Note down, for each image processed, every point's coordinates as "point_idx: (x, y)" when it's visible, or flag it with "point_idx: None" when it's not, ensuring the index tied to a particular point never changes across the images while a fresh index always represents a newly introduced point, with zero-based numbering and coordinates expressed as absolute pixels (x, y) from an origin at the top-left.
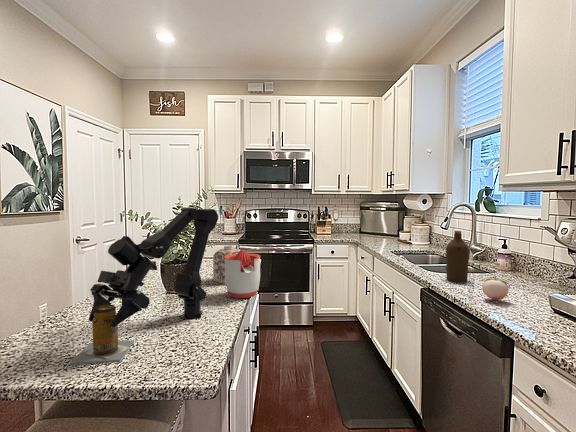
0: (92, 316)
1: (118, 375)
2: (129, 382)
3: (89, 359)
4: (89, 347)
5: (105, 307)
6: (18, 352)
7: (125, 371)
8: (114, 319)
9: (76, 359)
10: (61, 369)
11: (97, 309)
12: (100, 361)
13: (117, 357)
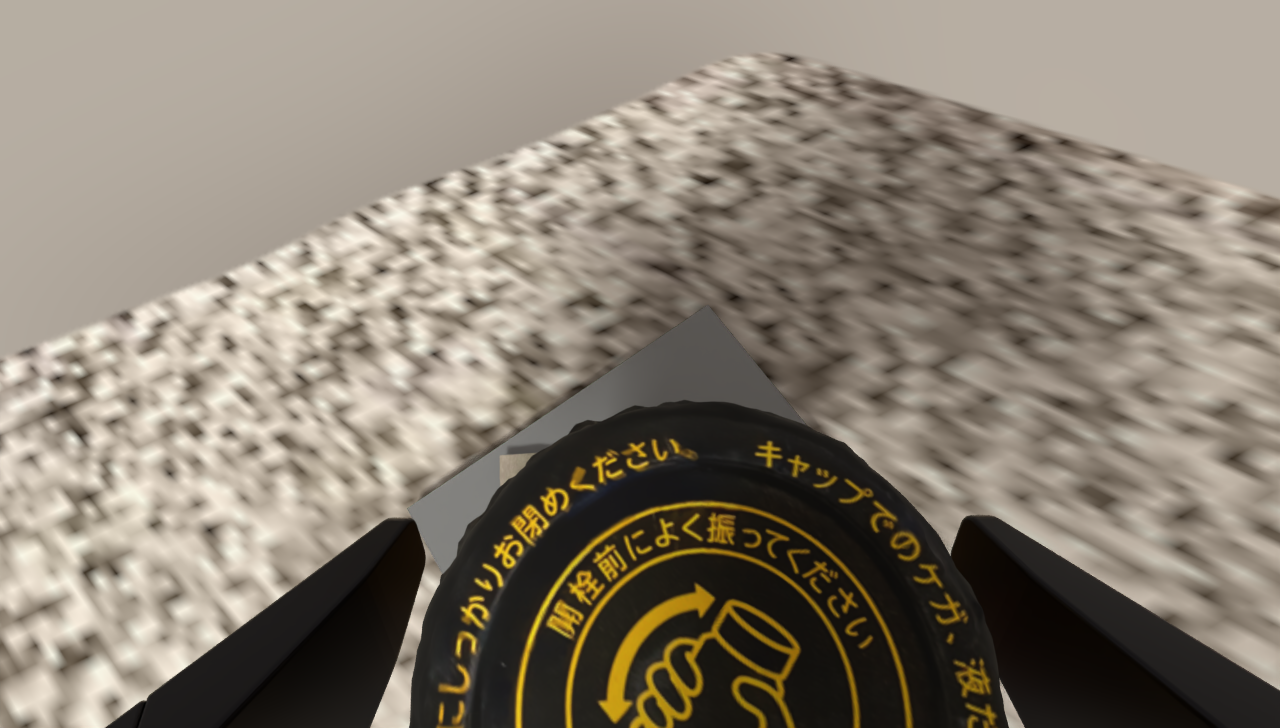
0: (1008, 584)
1: (275, 370)
2: (146, 346)
3: (631, 398)
4: None
5: (703, 723)
6: (1250, 254)
7: (266, 425)
8: (330, 585)
9: (722, 356)
10: (694, 256)
11: (690, 440)
12: (535, 423)
13: (457, 522)
